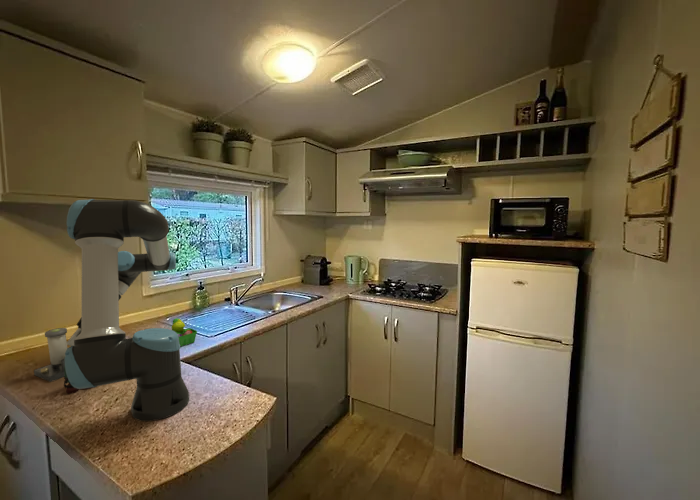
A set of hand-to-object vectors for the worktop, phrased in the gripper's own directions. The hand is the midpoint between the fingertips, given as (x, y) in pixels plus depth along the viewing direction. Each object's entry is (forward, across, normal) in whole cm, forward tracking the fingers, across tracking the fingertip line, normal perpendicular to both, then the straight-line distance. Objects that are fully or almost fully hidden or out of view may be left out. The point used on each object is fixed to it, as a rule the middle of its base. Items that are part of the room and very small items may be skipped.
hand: (70, 345), depth 123 cm
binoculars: (+11, -20, -1) cm, 23 cm away
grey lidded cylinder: (+6, 0, -1) cm, 6 cm away
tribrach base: (+9, 0, -3) cm, 9 cm away
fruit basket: (-17, -17, -30) cm, 38 cm away
